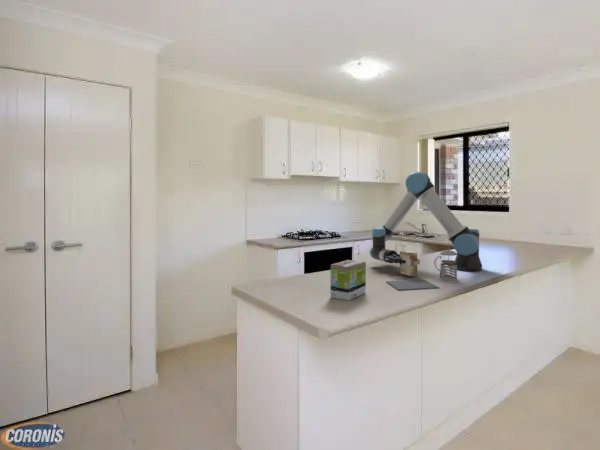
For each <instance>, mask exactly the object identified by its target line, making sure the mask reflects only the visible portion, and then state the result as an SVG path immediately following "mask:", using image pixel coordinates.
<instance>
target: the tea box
mask: <svg viewBox="0 0 600 450" xmlns="http://www.w3.org/2000/svg"><path fill="white" fill-rule="evenodd" d="M366 267H367V263H366V261H360V260H351V259H346V260H343V261H340V262H335V263H332V264H330V285H329V286H330V298H333V299H339V300H344V301H351V300H353V299H354V298H357V297H359V296H361V295H362V296H363V295H364V294H366V289H367V288H366V286H367V285H366V284H367V283H366V276H367V274H366V270H367V268H366Z"/></svg>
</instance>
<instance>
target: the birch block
mask: <svg viewBox="0 0 600 450" xmlns="http://www.w3.org/2000/svg"><path fill="white" fill-rule="evenodd" d="M399 254H400V258H401V260H402V258H403V259H408V260H411V265H406V264H402V265H399V273H400V274H403V275H405V276H409V277H411V276H417V275H418V264H417V259H418V252H417V251H412V250H399Z"/></svg>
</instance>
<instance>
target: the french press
mask: <svg viewBox="0 0 600 450" xmlns="http://www.w3.org/2000/svg"><path fill="white" fill-rule="evenodd" d="M446 234H447V235H448V234H451V232H450V231H448V232H446ZM439 254H440V255H438V256H437V257H436V258H435V259H434V261H433V262H434V268H436V269H437V271H439V278H438V281H439V282H441V283H451V284H452V283H453V284H454V283H458V282H460V281H459V279H458V273H457V272H458V270H457V264H454V263H456V261H455V260H452V259H450V256H452V257H453V256H457V251H453V250H450V248H448V250H443V251H441V252H440V253H439ZM442 256H448V259H443V260H442ZM438 259H440V260H441V263H440V269H439V268H438V266H436V263H437V262H436V261H437V260H438Z"/></svg>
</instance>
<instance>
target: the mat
mask: <svg viewBox="0 0 600 450" xmlns="http://www.w3.org/2000/svg"><path fill="white" fill-rule="evenodd" d="M385 283H386V284H388V285H389V286H391V287H393V288H394V289H395V290H396V291H413V290H414V291H415V290H431V289H432V290H433V289H440V287H439V286H438V285H437V284H434V283H432V282H430V281H428V280H426V279H424V278H423V279H409V280H407V279H406V280H405V279H404V280H387V281H385Z"/></svg>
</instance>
